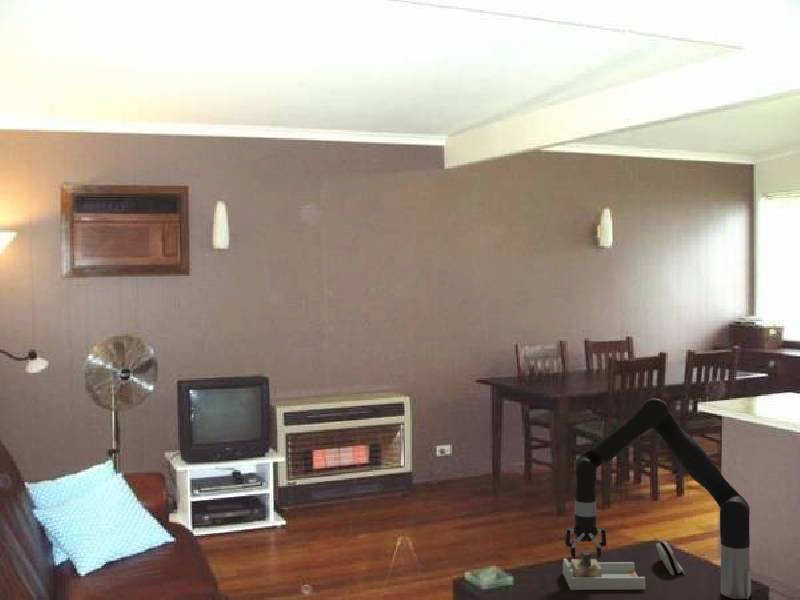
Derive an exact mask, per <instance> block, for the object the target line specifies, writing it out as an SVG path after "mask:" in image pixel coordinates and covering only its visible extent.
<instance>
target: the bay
mask: <svg viewBox="0 0 800 600" xmlns="http://www.w3.org/2000/svg"><path fill="white" fill-rule="evenodd" d="M562 561H563V562H562V575H563V576H564V577H563V578H564V579H565V581H566V584H567V585H568V587H569V590H571V591H576V590H577V591H580V590H582V591H584V590H585V591H586V590H587V591H588V590H591V591H592V590H593V591H594V590H595V591H596V590H604V591H605V590H609V591H610V590H615V591H616V590H646V577H645V576H638V574H637V573H636V569H635V568H636V567H635V562H634V561H627V562H626V561H618V562H617V561H613V562H612V561H611V562H610V561H605V562H602V561H601V562H600V561H597V562H598V564H599V565H600V567H601V569H602V577H573V570H572V568H571V562H570V561H569V560H568V559H567V557H563V559H562Z"/></svg>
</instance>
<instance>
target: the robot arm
mask: <svg viewBox="0 0 800 600" xmlns="http://www.w3.org/2000/svg"><path fill="white" fill-rule="evenodd" d="M652 428H653V430H655V432H657V434H659V435H660V437H661V438H662V439H663V441H664V442H665V443H666V445H667V447H668V449H669V450H670V452H671V454H672V455H673V456H674V458H675V460H677V462H678V463H679V464H680V466H681V467H682V468H683V470H684V471H685V472H686V473H687V475H689V477H690V478H692V479H693V480H694V481H695V482H697V483H698V484H699V485H700V486H701V487H702V488H704V489H705V490H706V491H707V492H708V493H709V494H710V495H711V497H712V498H713V500H714V501H715V502H716V503H717V506H718V507H719V509H720V510H719V537H720V593H721V595H723V596H724V597H725V598H726V597H727V598H729V599H735V600H749V598H750V596H751V595H752V568H751V567H752V566H750V564H751V563H750V561H751V559H750V557H751V555H750V554H751V550H750V545H751V544H750V543H751V542H750V540H751V538H750V513H751V509H750V506H749V503H748V502H747V500H746V499H745V498H744V497H743V496H742V495H741V494H740V493H739V492H738V491H737V490H736V489H735V488H734V487H733V486H732V485H731V484H730V483H729V482H728V481H727V479H726V478H725V477H724V476H723V474H722V472H721V471H720V470H719V469H718V467H717V466H716V465H715V463H714V462H713V460H712V459H711V458H710V456H709V455H708V454H707V453H706V452H705V451H704V449H702V447H701V446H700V445H699V443H697V441H696V440H695V439H693V438H692V436H690V435H689V434H688V433H687V432H686V431H685V430H684V429H683V428H682V427H681V426H680V424H678V422H677V420H675V418H674V417H673V416H672V413H671V412H670V410H669V408H668V405H667V404H666V403H665V402H664V401H663V400H661V399H660V398H657V397H656V398H653V397H651V398H649V399H646V400H645V401H644V402H643V403H642V405H641V407H640V409H639V410H638V411H637V412H636V413H635V414H634V416H632V417H631V418H630V419H629V420H628V421H627V422H625V423H624V424H622V426H620V427H619V428H617V429H616V430H614V431H613V432H612V433H610V434H609V435H607V436H606V437H605V438H604V439H603V440H601V441H600V442H599V443H598V444H597V445H595V446H594V447H592V448H591V449H589V450H588V451H586V452H584V453H582V454H581V455H580V456H579V457H578V458H577V459H576V460H575V464H574V468H575V475H576V477H575V479H576V485H575V503H574V528H569V527H566V528H565V540H564V542H565V543H564V544H565V545H566V546H567V547H569V548H570V555H571V557H572V559H576V546H577V545H578V544H579V543H580V542H584V543H585V542H591V541H593V543H594V544H595V545H596V546H595V557H596V559H600V557H601V556H602V548H603V547H606V546H607V536H606V535H607V533H606V529H605V528H604V527H601V528H597V512H598V510H597V503H596V496H597V495H596V483H597V482H596V481H597V469H598V467H600V466H601V465H603V464H606V463H608V462H610V461H612V460H613V459H614V458H615V457H617V456H618V455H619V454H620V453H622V451H624V450H625V449H626V448H627V447H629V446H630V444H632V443H633V442H634V441H635V440H636V439H637V438H639V437H640V436H642V435H643V434H644V433H646V432H648V431H649V430H650V429H652ZM573 533H574V535H575V536H574V537H573V539H572V541H571V536H572V535H573ZM597 534H599V536H600V537H601V538H600V540H601V541H600V542H599V540H598V539H597V538H596V536H597Z"/></svg>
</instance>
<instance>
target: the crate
mask: <svg viewBox="0 0 800 600" xmlns="http://www.w3.org/2000/svg"><path fill="white" fill-rule="evenodd" d="M580 552H581V553H580V554H581V557H580V558H572V559H570V563H571V568H572V570H573V577H602V569H601V567H600V565H599V564H598V562H599V561H598V560H597V558H591V556H592V555H591V553H590V552H589V550H581V551H580Z"/></svg>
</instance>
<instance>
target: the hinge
mask: <svg viewBox="0 0 800 600" xmlns="http://www.w3.org/2000/svg"><path fill="white" fill-rule="evenodd" d="M655 546H656V549H657V551H658V554H659V558H660V559H661V562H662V561H663V562H662V563H663V565H664V566H665V568H666V569H667V571H668V572H669V573H670V575H671V576H674V575H676V574H680V573H682V574H683V575H684V576H686V573H685V571H684V568H683V567H682V566H681V565H680V563H679V562H678V561H677V559H676V555H675V553H674V551H673V550H672V548H671V546H670V544H669V543H668V542H667V541H664V540H663V541H661V542H658V543H656V544H655Z"/></svg>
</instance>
